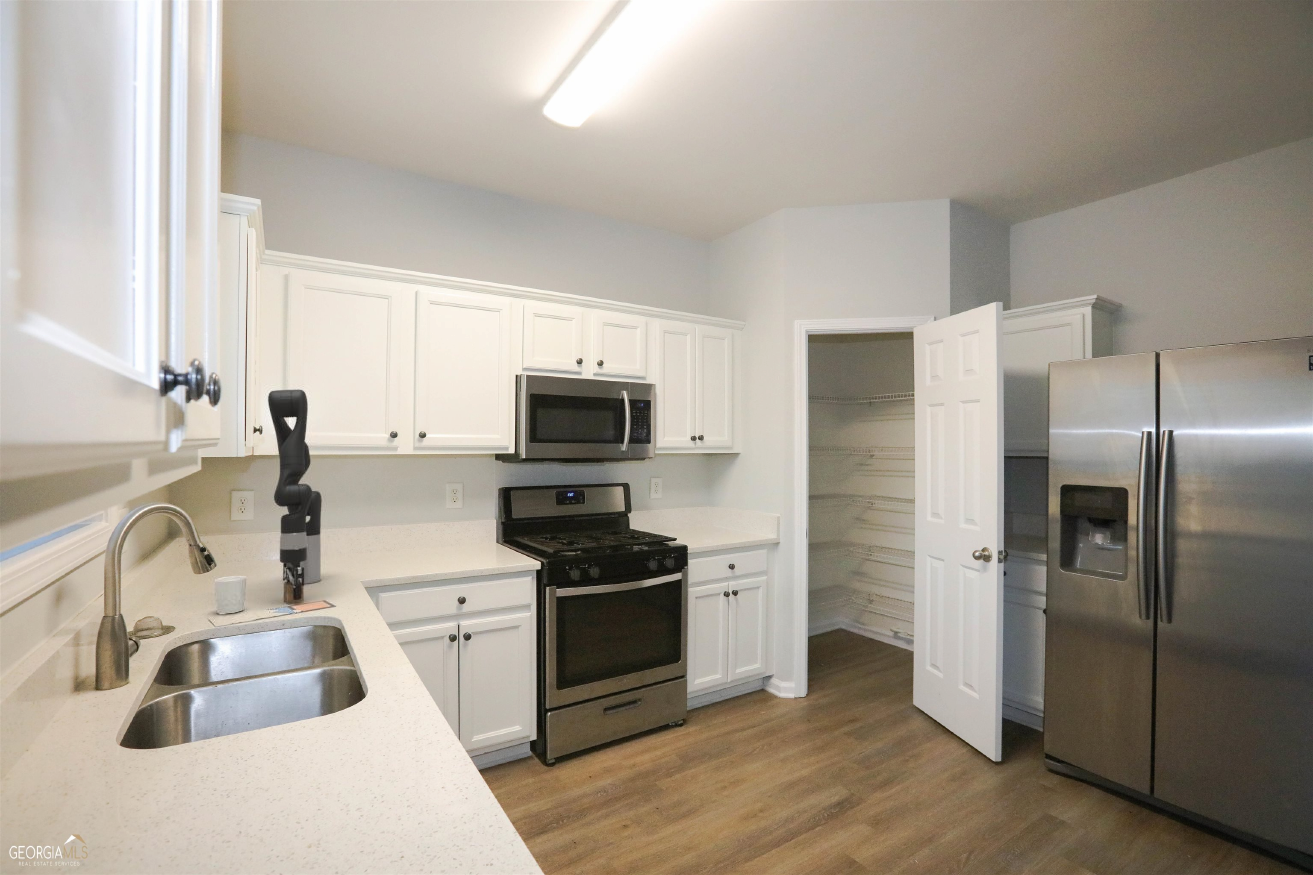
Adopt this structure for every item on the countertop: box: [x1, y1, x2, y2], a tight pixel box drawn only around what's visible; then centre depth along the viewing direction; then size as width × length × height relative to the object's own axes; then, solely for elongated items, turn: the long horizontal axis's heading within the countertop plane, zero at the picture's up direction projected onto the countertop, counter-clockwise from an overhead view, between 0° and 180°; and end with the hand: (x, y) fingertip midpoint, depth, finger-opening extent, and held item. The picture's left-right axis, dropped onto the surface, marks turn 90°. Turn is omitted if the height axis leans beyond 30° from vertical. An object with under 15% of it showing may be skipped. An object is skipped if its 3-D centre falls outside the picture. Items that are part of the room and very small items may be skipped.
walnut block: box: [283, 581, 305, 605], centre depth 202 cm, size 4×4×6 cm
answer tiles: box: [267, 599, 337, 614], centre depth 188 cm, size 11×31×1 cm, turn 134°
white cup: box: [214, 575, 247, 614], centre depth 190 cm, size 8×8×10 cm
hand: (293, 597), depth 202 cm, fingers open, 8 cm apart
